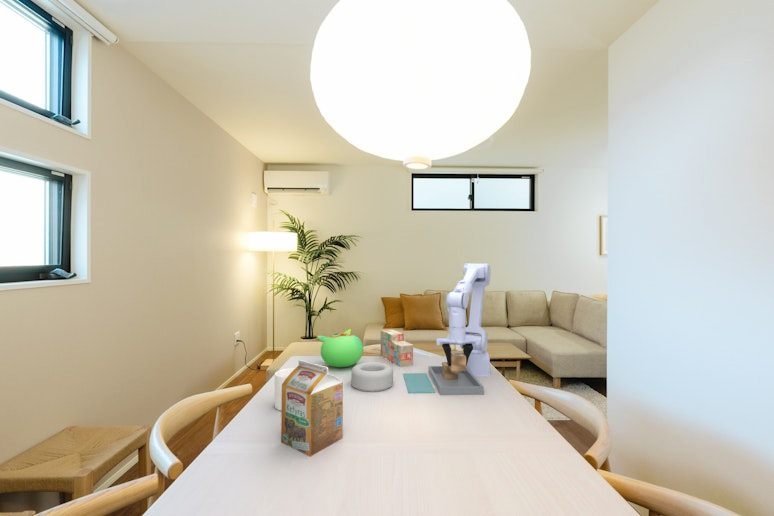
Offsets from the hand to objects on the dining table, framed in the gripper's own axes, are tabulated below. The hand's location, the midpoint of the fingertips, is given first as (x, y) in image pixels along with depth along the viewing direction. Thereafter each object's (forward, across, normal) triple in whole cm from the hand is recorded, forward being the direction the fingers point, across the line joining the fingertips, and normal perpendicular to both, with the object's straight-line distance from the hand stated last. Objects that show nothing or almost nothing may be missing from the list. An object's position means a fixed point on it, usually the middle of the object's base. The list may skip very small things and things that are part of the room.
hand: (457, 365), depth 124 cm
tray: (+8, 0, +5) cm, 10 cm away
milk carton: (+8, -44, -34) cm, 57 cm away
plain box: (+8, 0, +11) cm, 13 cm away
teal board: (+8, -13, +5) cm, 16 cm away
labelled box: (+1, 0, 0) cm, 1 cm away
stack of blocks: (+9, -19, +35) cm, 41 cm away
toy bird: (+8, -42, +28) cm, 52 cm away
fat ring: (+9, -30, +5) cm, 31 cm away
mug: (+8, -54, -14) cm, 56 cm away
